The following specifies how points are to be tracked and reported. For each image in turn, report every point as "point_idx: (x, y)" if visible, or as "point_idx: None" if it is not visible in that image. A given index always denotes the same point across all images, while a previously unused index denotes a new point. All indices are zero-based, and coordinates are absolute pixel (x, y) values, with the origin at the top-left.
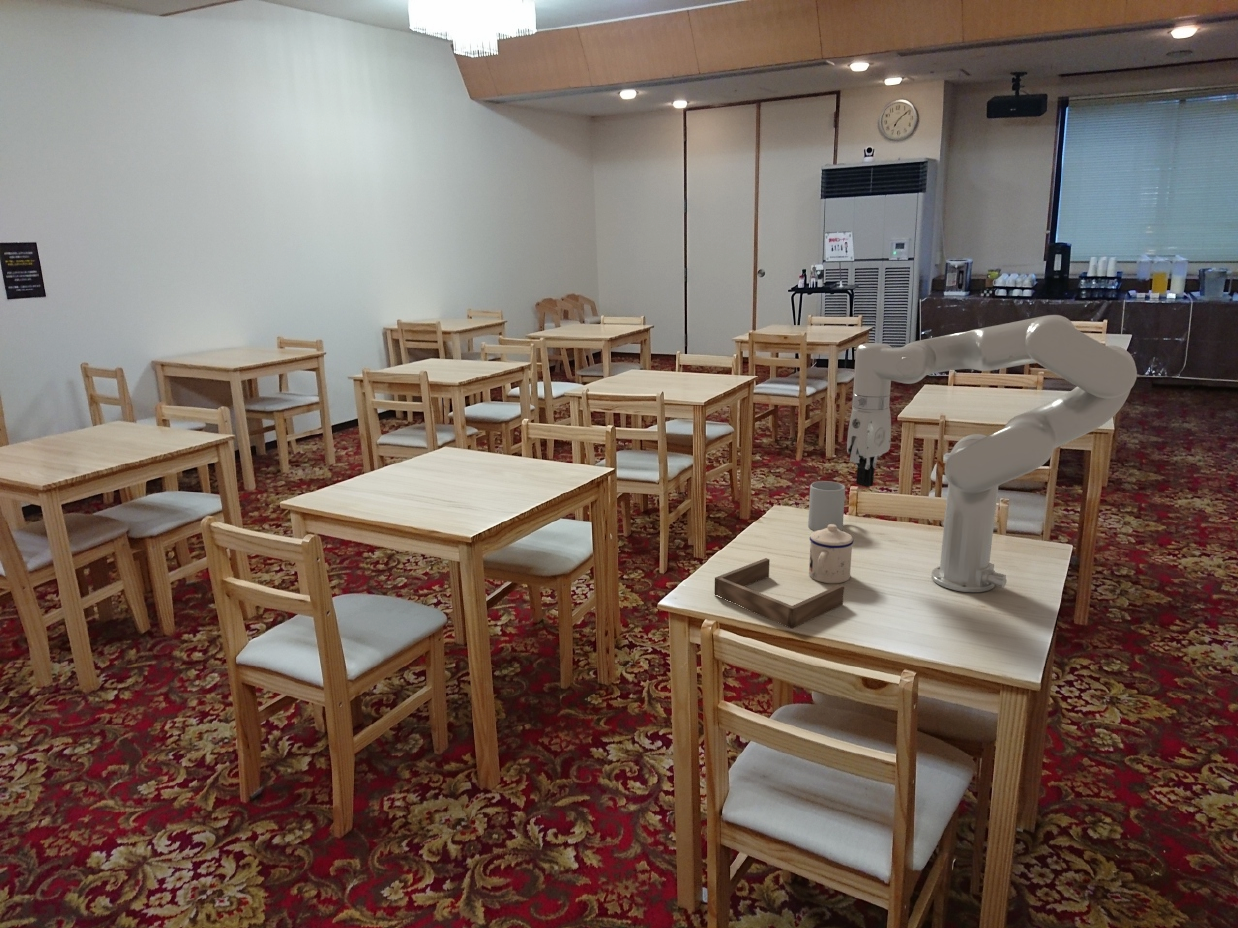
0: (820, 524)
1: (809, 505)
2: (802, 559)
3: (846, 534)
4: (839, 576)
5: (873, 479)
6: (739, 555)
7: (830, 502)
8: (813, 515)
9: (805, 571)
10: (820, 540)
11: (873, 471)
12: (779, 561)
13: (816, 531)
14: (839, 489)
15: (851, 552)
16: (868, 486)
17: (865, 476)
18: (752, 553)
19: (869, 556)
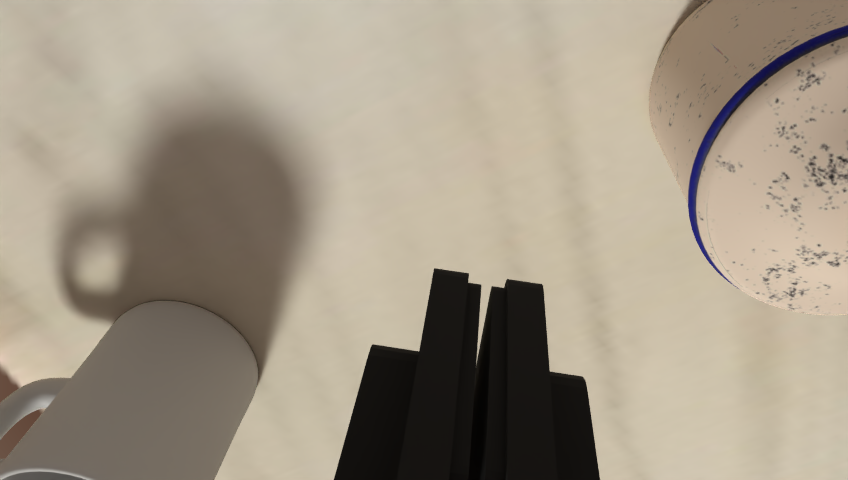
0: (241, 379)
1: None
2: (609, 277)
3: (827, 112)
4: None
5: (426, 318)
6: (716, 464)
7: (166, 439)
8: (233, 434)
9: None
10: None
11: (426, 431)
12: (693, 336)
13: (835, 303)
14: (11, 476)
15: (804, 15)
16: (539, 286)
17: (564, 438)
18: (665, 440)
19: (352, 51)
